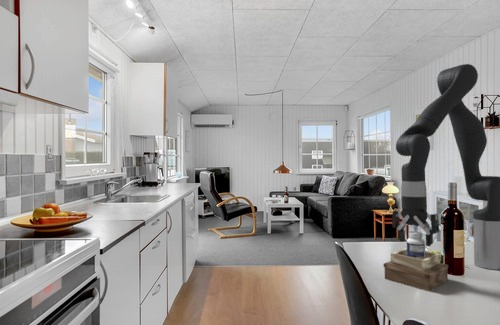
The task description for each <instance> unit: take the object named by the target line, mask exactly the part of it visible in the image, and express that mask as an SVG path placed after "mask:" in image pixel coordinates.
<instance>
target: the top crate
mask: <svg viewBox="0 0 500 325" xmlns="http://www.w3.org/2000/svg"><path fill="white" fill-rule="evenodd" d="M390 261H391V264H393V265H397V266H402V267H406V268H410V269H414V270H418V271H422V272H427V271H429V270H431V269H433V268H435V267H437V266H439V265H440V263H441V254H440V253H435V252H431V251H426V250H425V259H418V258H414V257H409V256H407V247H405V248H402V249H400V250H397V251H393V252H392V253H390Z"/></svg>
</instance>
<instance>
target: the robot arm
mask: <svg viewBox="0 0 500 325" xmlns="http://www.w3.org/2000/svg"><path fill="white" fill-rule="evenodd" d="M478 77H479V74H478V71H477V68H476V67H475V66H474V65H473V64H471V63H470V64H469V63H463V64H460V65H456V66H453V67H450V68H447V69H443V70H441V71H440V72H439V73H438V76H437V80H436V82H437V88H438V91H439V94H440V96H439V97H437V98H436V99H435V100H434V101H432V102H431V103H430V104H429V105H427V106H426V107H425V108H424V110H422V112H421V113H420V114H419V116H418V117H417V119H416V120H415V122H414V123H413V124H412V125H410V126H409V127H408V128H407V129H406V130H405V131H404V132H402V133H401V135H400V136H399V137H398V139H397V141H396V144H395V151H396V152H397V154H399V155H400V156H403V157H410V159H409V162H407V163H404V164H402V166H401V186H400V194H401V195H400V196H401V198H400V199H401V210H398V209H395V210H393V211H392V222H391V224H392V228H393V229H395V230H397V234H398V236H397V238H398V240H399V241H400V242H402V243H403V242H405V241H406V230H405V228H406V227H407V226H415V227H420V228H421V229H422V230H423V231H424V232H425V247H431V246H432V245H433V243H434V234H437V233H439V232H440V223H439V215H438V214H437V213H431V214H430V213H428V203H427V202H428V201H427V198H428V195H427V185H426V166H427V163H428V159H429V155H430V151H431V144H430V139H429V138H430V137H432V136H433V135H434V134H435V133H436V131H437V130H438V129H439V128H440V126H441V124H442V123H443V122H444V120H445V118H446V117H447V116H448V117H449V120H450V123H451V127H452V132H453V136H454V139H455V143H456V146H457V150H458V152H459V156H460V161H461V166H462V169H463V175H464V180H465V182H464V183H465V187H466V191H467V194H468V196H469V197H470V198H471V199H472V200H476V201H484V202H487V204H486V206H485V207H484V208H480V209H476V210H474V211H473V212H472V218H473V219H472V222H473V252H474V253H473V261H474V262H473V263H474V264H473V265H475V266H477V267H480V268H484V269H488V270H489V269H490V270H500V176H496V175H495V176H493V175H489V176H488V175H482V174H481V171H480V160H481V158H482V156H483V154H484V152H485V150H486V148H487V143H488V139H487V135H486V134H487V133H486V130H485V126H484V124H483V122H482V121H481V119H480V118H478V116H477V115H475V114H474V113H473V112H472V110H470V109H469V108H468V107H467V106H466V105H465V103H464V101H463V99H464V97H465V96H466V95H468V94H469V93H470V91H472V89H473V88H475V86H476V84H477V82H478V80H479V78H478ZM401 217H402V220H401V221H400V218H401ZM428 219H429V221H430V224H429V222H428V221H427V220H428ZM430 225H431V226H430Z"/></svg>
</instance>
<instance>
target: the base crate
mask: <svg viewBox="0 0 500 325" xmlns="http://www.w3.org/2000/svg"><path fill="white" fill-rule="evenodd" d="M383 268H384V279H385V280H388V281H392V282H395V283H398V284H402V285H406V286H409V287H412V288H416V289H420V290H424V291H427V292H430V291H432V290H433V289H436V288H437V287H439V286H440V285H442V284H444V283H446V282H447V281H448V279H449V278H448V277H449V276H448V274H449V273H448V269H449V264H446V263H441V262H440V265H439V266H437V267H435V268H433V269H431V270H429V271H427V272H422V271H418V270H414V269H410V268H406V267H402V266H397V265H393V264H391V260H389V261H387V262H385V263H383ZM445 281H446V282H445Z"/></svg>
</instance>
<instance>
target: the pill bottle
mask: <svg viewBox="0 0 500 325" xmlns="http://www.w3.org/2000/svg"><path fill="white" fill-rule="evenodd" d="M406 248H407V256H409V257H414V258H418V259H425V251H426V240H424V239H423V232H421V231H416V230H414V231H409V232H408V238H407V240H406Z"/></svg>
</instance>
